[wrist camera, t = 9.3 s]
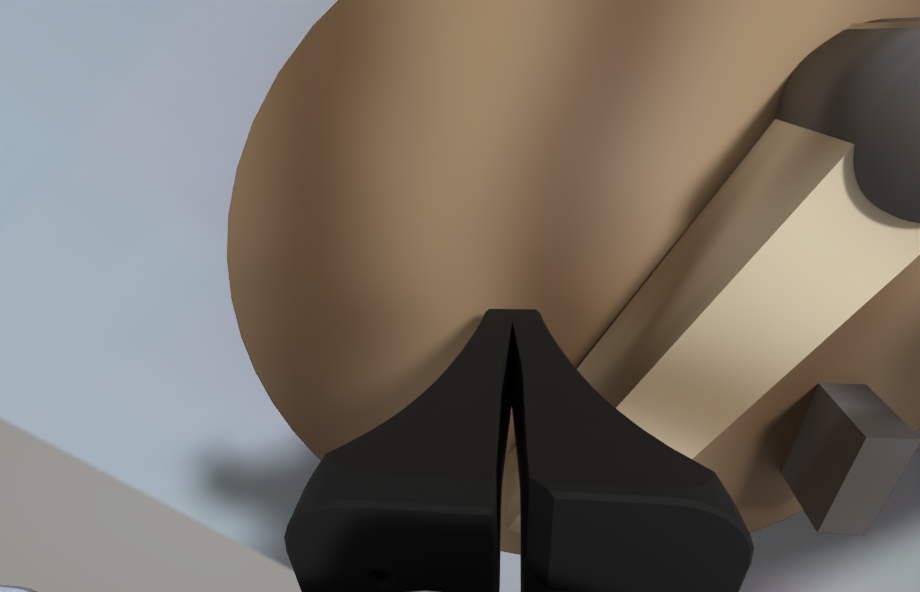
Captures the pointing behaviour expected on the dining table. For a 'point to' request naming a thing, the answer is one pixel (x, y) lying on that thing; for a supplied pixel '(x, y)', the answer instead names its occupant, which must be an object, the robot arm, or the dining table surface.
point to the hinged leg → (775, 248)
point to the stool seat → (542, 218)
